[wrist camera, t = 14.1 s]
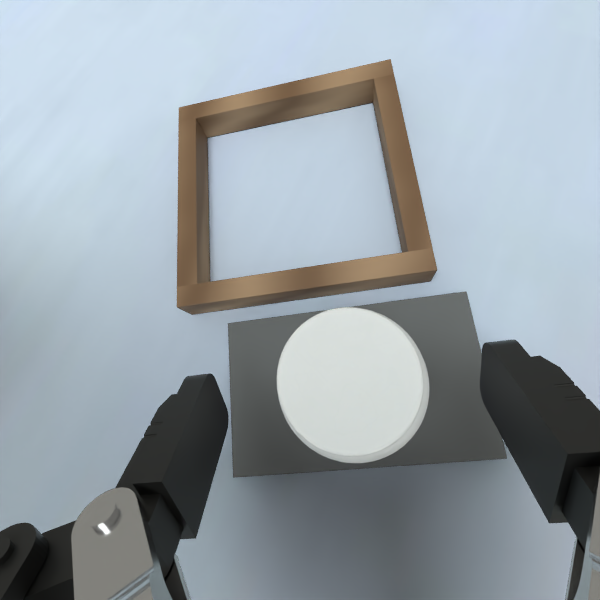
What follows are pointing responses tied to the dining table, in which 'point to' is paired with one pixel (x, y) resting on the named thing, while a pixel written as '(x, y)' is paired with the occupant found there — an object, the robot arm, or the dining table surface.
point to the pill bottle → (352, 385)
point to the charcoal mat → (441, 405)
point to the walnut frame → (273, 109)
